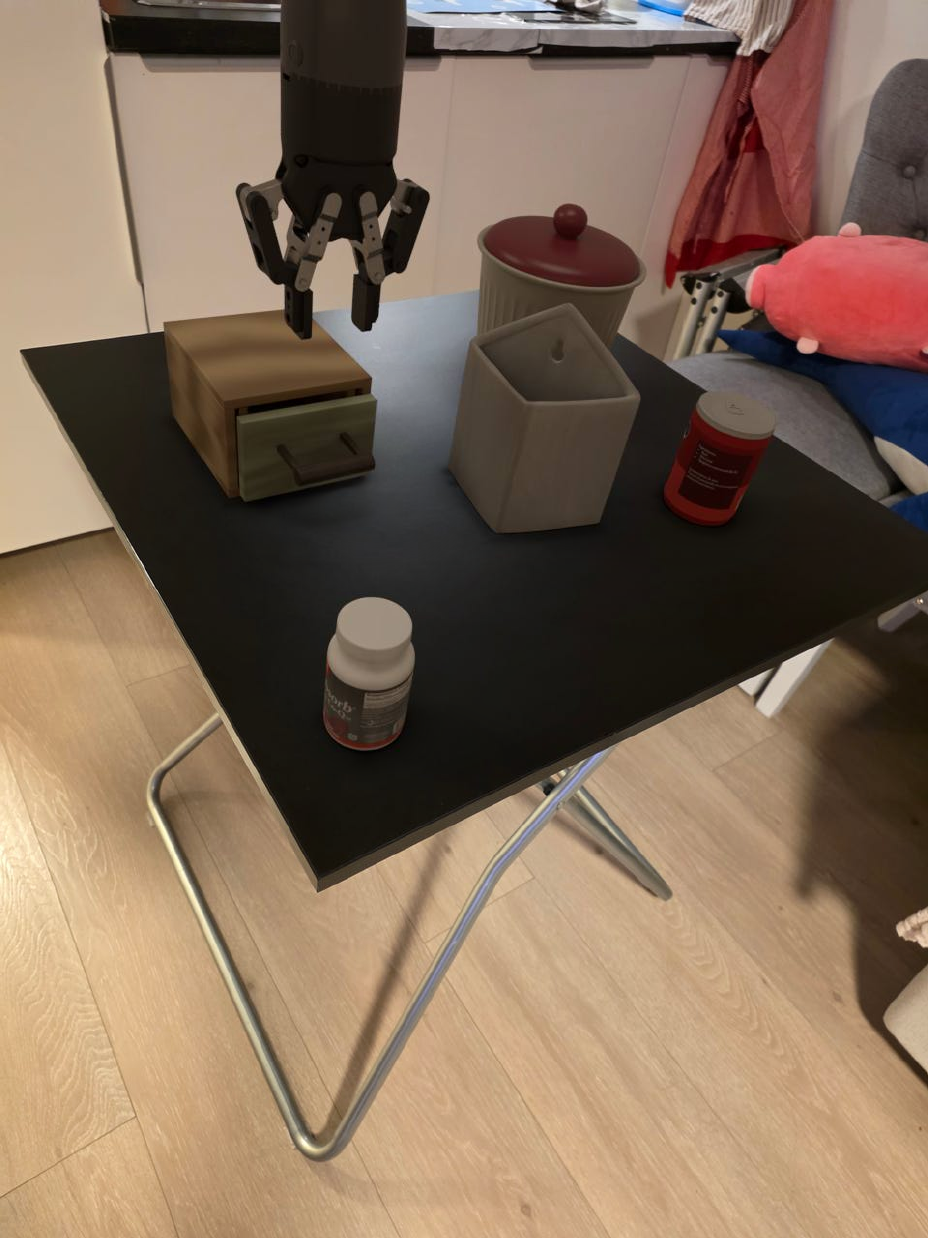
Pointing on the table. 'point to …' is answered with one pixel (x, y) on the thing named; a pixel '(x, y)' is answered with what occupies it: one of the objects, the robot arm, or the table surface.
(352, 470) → the drawer
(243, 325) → the cabinet
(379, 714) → the pill bottle
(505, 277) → the canister
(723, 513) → the red supplement jar
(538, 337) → the planter
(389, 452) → the table surface
